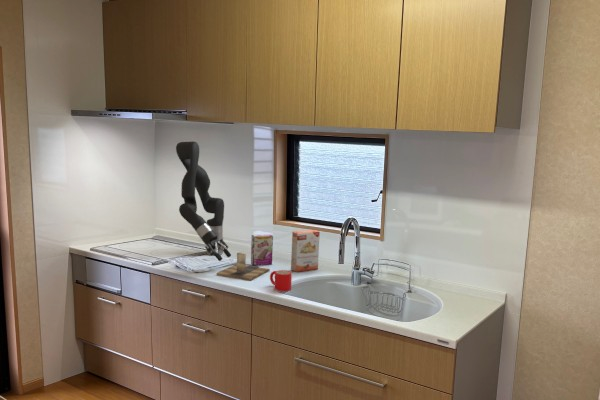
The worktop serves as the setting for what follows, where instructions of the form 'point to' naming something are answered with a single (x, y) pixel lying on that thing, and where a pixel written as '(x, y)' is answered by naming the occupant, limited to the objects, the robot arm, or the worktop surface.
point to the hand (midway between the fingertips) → (225, 258)
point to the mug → (281, 280)
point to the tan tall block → (241, 262)
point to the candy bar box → (261, 249)
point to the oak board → (249, 273)
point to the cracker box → (305, 250)
